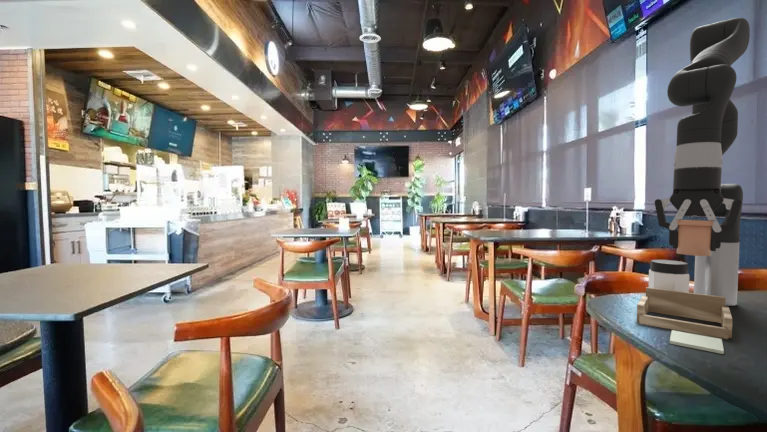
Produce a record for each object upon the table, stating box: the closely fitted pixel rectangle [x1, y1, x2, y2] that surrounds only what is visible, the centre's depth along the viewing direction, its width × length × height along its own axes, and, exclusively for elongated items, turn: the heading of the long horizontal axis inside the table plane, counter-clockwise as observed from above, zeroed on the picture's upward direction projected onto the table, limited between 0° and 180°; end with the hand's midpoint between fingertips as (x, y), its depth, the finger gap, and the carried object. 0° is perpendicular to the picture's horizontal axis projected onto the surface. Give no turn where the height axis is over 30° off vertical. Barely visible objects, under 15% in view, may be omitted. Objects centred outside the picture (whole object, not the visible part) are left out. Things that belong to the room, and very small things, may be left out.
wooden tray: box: [636, 286, 733, 340], centre depth 88 cm, size 14×16×6 cm
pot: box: [676, 219, 713, 257], centre depth 78 cm, size 6×6×7 cm
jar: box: [648, 259, 690, 293], centre depth 102 cm, size 9×8×12 cm
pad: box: [669, 329, 725, 355], centre depth 75 cm, size 8×8×1 cm
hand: (693, 249), depth 78 cm, fingers closed on pot, 5 cm apart
